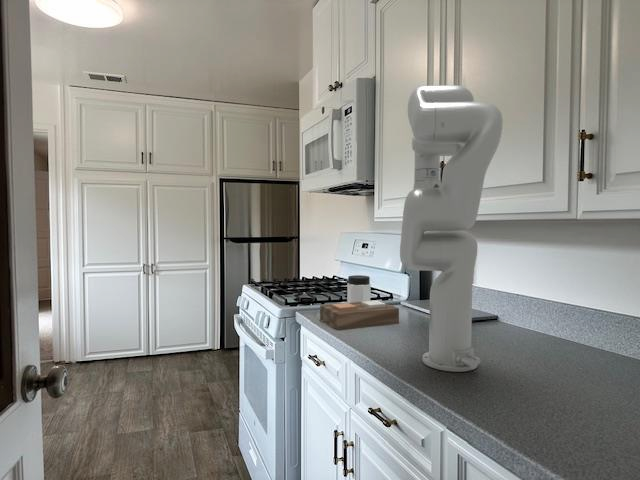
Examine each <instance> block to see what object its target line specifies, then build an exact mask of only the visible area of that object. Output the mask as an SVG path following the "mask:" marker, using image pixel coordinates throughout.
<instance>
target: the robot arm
mask: <svg viewBox="0 0 640 480" xmlns="http://www.w3.org/2000/svg"><path fill="white" fill-rule="evenodd" d="M474 100H475V99H474V96H473V93H472V92H471V91H470V90H469V89H468V88H467V87H465V86H462V85H456V84H455V85H451V84H450V85H449V84H447V85H422V86H418V87H416V88H415V89H414V90H412V92H411V93H410V97H409V99H408V102H407V117H408V122H409V125H410V127H411V132H412V135H413V137H412V139H411V146H412V147H411V149H412V151H413V152H414V174H413V175H414V177H413V178H414V181H413V187H412V189H411V191H409V192H408V194H407V196H406V197H405V200H404V205H403V211H402V224H401V234H400V242H399V243H400V246H399V248H400V249H399V257H400V263H401V264H402V266H403V267H404V268H405V269H407V270H409V271H424V272H425V271H426V272H427V271H433V272H435V271H437V272H440V273H439V275H437V277H436V278H435V279H434V281H433V282H432V284H431V286H430V291H429V326H428V327H429V329H428V330H429V333H428V334H429V335H428V342H429V343H428V351H427V352H425V353H423V354H422V358H421V359H422V362H423V364H424V365H426V366H427V367H430V368H432V369H435V370H439V371H444V372H452V373H455V372H456V373H459V372H461V373H463V372H469V371H473V370H475V369H477V368H478V366H479V365H480V364H481V362H482V359H481V358H480V357H478V356H475V354H474V353H475V349H474V348H473V347H472V324H473V323H472V321H473V320H472V319H473V318H472V316H473V315H472V314H473V313H472V312H473V309H472V308H473V281H474V274H475V267H476V261H477V256H478V242H477V239H476V238H475V236H474V235H473V234H471V233H470V232H468V231H465V230H469V229H470V228H472V227H473V226H474V225H475V223H476V220H477V217H478V213H479V208H480V204H481V203H480V202H481V199H482V194H483V193H482V192H483V187H484V183H485V178H486V174H487V171H488V170H489V169H488V168H489V167H490V164H491V163H492V160H493V158H494V156H495V154H496V152H497V150H498V147H499V144H500V141H501V137H502V133H503V132H502V131H503V115H502V114H503V113H502V111H501V109H500V108H499V107H498V106H497V105H494V104H492V103H489V102H483V101H474ZM441 157H450V158H449V159H448V161H446V163H445V165H444V167H443V169H442V175H441V179H440V164H441V163H440V159H441Z"/></svg>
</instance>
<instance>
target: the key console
mask: <svg viewBox="0 0 640 480" xmlns="http://www.w3.org/2000/svg"><path fill="white" fill-rule="evenodd" d="M364 302H365V301H364ZM381 302H382V303H385V304H386V307H377V308H368V307H365V306H363V305H361V302H352V303H350V304H352V305H354V306H356V310H345V311H338V310H336V309H334V308H332V304H333V303H332V304H331V303H330V304H320V305H319V310H320V311H319V313H320V314H319V317H320V318H319V320H320V322H323V323H325V324H326V325H327V326H330V327H331V328H333V329H335V330H337V331H342V330H351V329H361V328H370V327H379V326H388V325H396V324H399V323H400V321H399V320H400V307H398V306H394V305H391V304H388V303H386V302H384V301H381Z"/></svg>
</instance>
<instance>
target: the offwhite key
mask: <svg viewBox="0 0 640 480" xmlns="http://www.w3.org/2000/svg"><path fill="white" fill-rule="evenodd" d="M382 302H383V301H381V300H370V301H365V302H361V305H363V306H365V307H368V308H377V307H386V304H387V303H386V302H383V303H382ZM385 303H386V304H385Z"/></svg>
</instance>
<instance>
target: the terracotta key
mask: <svg viewBox="0 0 640 480" xmlns="http://www.w3.org/2000/svg"><path fill="white" fill-rule="evenodd" d="M332 308H334V309H336V310H338V311H345V310H356V306H354V305H352V304H350V303H347V302H343V303H332Z"/></svg>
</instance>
